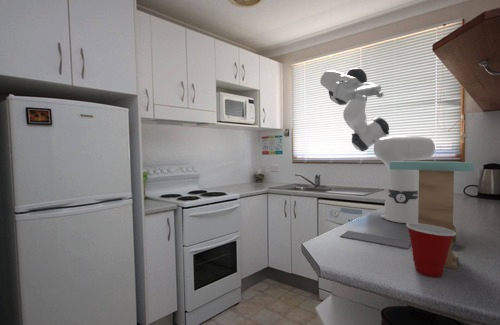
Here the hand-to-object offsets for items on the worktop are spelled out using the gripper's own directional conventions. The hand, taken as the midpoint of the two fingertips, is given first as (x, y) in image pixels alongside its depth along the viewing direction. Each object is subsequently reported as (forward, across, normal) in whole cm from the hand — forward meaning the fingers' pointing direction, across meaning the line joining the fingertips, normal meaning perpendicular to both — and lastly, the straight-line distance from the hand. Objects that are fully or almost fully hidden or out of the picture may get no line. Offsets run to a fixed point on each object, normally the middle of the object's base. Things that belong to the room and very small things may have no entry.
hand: (373, 97), depth 110 cm
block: (+37, +16, -7) cm, 41 cm away
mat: (+33, +22, -38) cm, 56 cm away
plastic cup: (+55, +32, -24) cm, 68 cm away
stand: (+51, +21, -28) cm, 62 cm away
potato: (+46, +4, -37) cm, 59 cm away
